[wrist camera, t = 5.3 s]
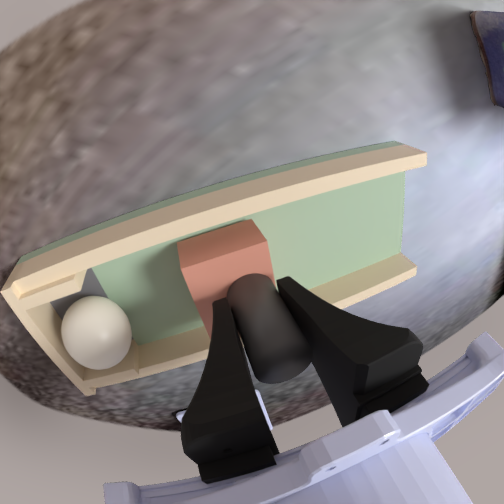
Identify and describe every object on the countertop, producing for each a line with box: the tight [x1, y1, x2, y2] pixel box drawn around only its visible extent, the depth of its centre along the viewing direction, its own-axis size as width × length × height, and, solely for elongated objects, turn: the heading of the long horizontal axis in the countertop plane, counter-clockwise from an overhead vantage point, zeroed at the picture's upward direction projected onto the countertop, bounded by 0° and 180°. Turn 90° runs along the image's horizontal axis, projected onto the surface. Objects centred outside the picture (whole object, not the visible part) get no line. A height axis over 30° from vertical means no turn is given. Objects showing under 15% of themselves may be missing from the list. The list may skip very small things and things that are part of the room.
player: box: [177, 219, 313, 384], centre depth 14 cm, size 5×4×7 cm
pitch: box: [0, 141, 427, 396], centre depth 17 cm, size 9×24×4 cm, turn 101°
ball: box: [61, 296, 132, 370], centre depth 14 cm, size 4×4×4 cm
